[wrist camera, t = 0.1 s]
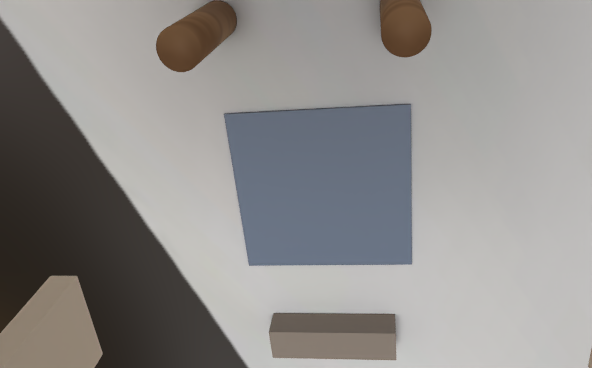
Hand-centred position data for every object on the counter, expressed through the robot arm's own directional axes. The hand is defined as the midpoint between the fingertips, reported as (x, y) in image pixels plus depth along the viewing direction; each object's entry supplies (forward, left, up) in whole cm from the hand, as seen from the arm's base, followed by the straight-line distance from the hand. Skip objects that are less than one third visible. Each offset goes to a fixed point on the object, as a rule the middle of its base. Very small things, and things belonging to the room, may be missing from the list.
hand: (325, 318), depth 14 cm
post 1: (-3, -10, -28) cm, 30 cm away
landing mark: (+11, -3, -28) cm, 30 cm away
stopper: (+25, -3, -28) cm, 38 cm away
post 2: (-3, +3, -28) cm, 28 cm away
